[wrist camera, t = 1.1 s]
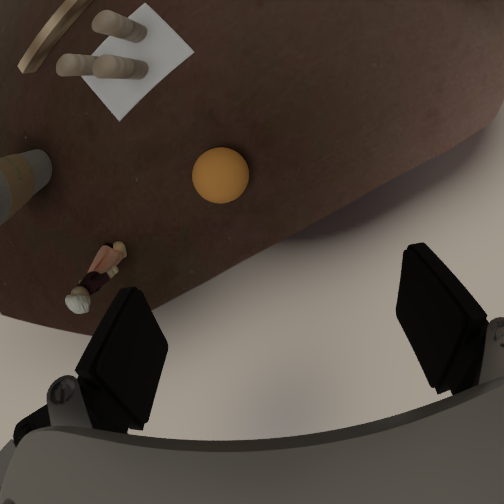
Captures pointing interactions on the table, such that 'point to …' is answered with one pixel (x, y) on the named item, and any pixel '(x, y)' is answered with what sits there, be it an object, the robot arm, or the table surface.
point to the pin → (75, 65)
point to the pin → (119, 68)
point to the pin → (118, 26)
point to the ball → (220, 175)
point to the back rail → (52, 34)
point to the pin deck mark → (148, 50)
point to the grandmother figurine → (96, 276)
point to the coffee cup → (22, 179)
